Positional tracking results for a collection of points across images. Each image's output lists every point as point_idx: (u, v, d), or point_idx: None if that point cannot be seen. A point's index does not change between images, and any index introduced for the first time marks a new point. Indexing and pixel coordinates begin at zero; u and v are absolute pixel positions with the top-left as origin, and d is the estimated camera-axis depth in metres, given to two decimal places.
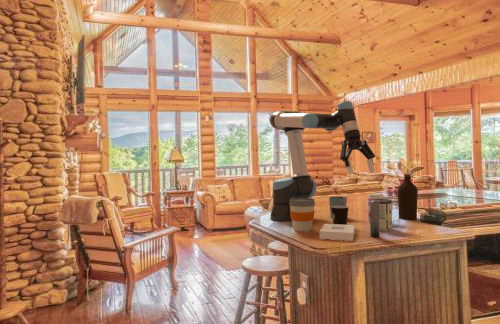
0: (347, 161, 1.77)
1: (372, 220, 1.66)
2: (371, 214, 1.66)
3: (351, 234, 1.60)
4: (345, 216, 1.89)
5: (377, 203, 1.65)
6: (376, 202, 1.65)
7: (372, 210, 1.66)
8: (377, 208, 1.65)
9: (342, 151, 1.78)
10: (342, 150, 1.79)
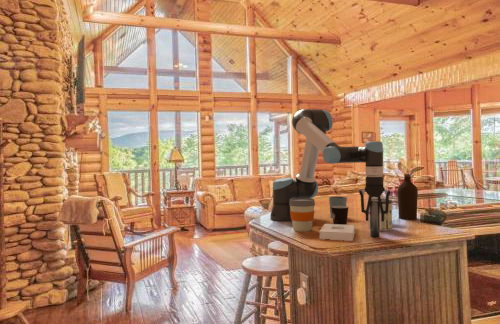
0: (367, 215, 1.67)
1: (372, 220, 1.66)
2: (371, 214, 1.66)
3: (351, 234, 1.60)
4: (345, 216, 1.89)
5: (377, 203, 1.65)
6: (376, 202, 1.65)
7: (372, 210, 1.66)
8: (377, 208, 1.65)
9: (361, 203, 1.69)
10: (361, 202, 1.69)
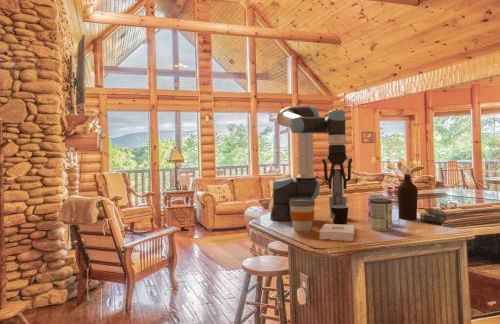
0: (330, 183, 1.70)
1: (335, 188, 1.68)
2: (334, 182, 1.69)
3: (351, 234, 1.60)
4: (345, 216, 1.89)
5: (339, 171, 1.68)
6: (338, 170, 1.68)
7: (334, 178, 1.68)
8: (339, 176, 1.68)
9: (324, 172, 1.71)
10: (324, 170, 1.71)
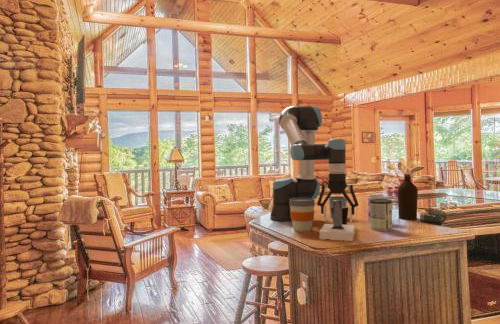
0: (322, 208, 1.71)
1: (335, 219, 1.69)
2: (334, 213, 1.69)
3: (351, 234, 1.60)
4: (345, 216, 1.89)
5: (339, 203, 1.68)
6: (338, 202, 1.68)
7: (335, 210, 1.69)
8: (339, 208, 1.68)
9: None
10: (320, 195, 1.72)
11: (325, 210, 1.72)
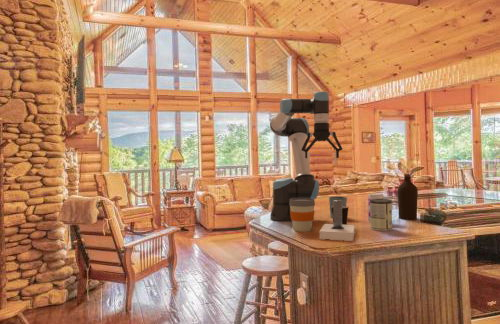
0: (306, 153, 1.91)
1: (335, 219, 1.69)
2: (334, 213, 1.69)
3: (351, 234, 1.60)
4: (345, 216, 1.89)
5: (339, 203, 1.68)
6: (338, 202, 1.68)
7: (335, 210, 1.69)
8: (339, 208, 1.68)
9: None
10: (305, 142, 1.92)
11: (309, 155, 1.91)
